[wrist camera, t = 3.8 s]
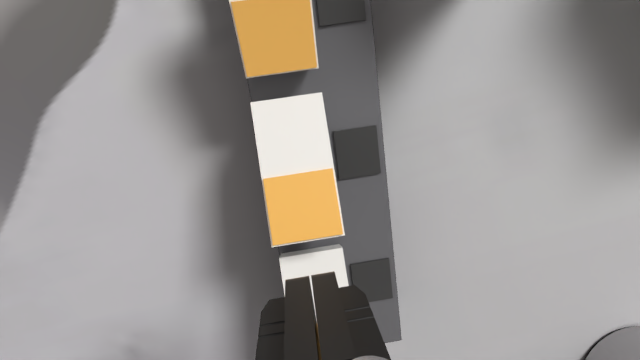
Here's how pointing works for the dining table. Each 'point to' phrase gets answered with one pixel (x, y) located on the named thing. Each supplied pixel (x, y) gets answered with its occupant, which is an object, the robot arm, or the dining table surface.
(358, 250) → the power strip
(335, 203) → the block
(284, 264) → the block
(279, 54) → the block
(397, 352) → the dining table surface
